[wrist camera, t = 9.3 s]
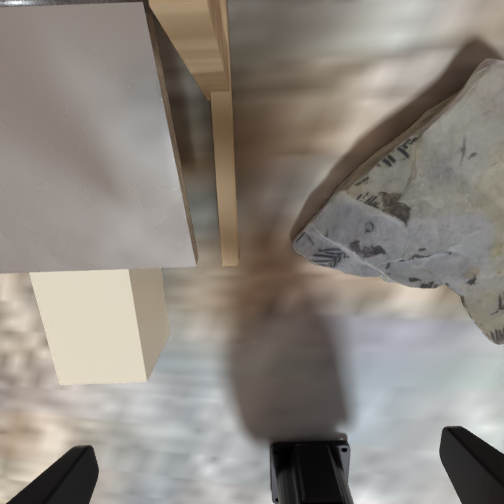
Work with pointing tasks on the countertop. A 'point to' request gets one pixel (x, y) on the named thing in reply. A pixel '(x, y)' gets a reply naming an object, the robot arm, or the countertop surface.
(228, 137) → the stand
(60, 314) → the limestone block
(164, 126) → the trapdoor
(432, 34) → the countertop surface
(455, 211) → the fossil rock
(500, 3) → the countertop surface
